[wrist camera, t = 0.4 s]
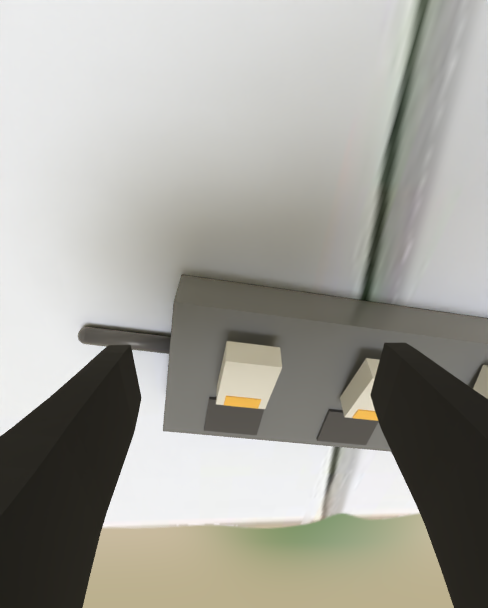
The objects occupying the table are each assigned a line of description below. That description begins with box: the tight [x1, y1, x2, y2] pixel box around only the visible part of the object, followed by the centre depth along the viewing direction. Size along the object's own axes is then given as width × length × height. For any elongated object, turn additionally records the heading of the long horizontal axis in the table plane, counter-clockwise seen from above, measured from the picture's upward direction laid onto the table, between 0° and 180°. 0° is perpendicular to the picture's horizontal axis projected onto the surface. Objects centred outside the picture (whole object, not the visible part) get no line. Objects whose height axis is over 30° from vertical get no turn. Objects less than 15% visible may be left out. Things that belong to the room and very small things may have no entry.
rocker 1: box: [216, 341, 282, 409], centre depth 17 cm, size 3×4×1 cm
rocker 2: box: [340, 358, 380, 421], centre depth 18 cm, size 3×4×1 cm
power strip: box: [78, 275, 488, 451], centre depth 20 cm, size 28×9×3 cm, turn 80°
